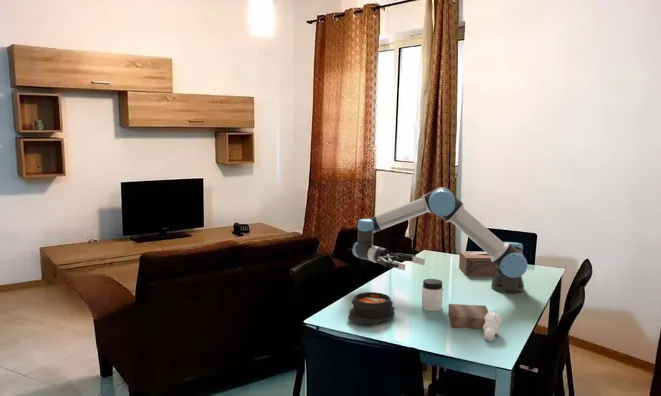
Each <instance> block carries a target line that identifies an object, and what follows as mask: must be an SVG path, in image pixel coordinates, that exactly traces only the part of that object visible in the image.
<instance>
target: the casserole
mask: <svg viewBox="0 0 661 396" xmlns="http://www.w3.org/2000/svg"><path fill="white" fill-rule="evenodd" d="M351 304H352V306H353V307H352V308H351V309H350V310H349V315H348V317H347V319H348V320H349V321H352V322H355V323H358V324H365V325H372V324H373V325H374V324H376V323H379V322H383V321H388V320H390V319H392V318H394V317H395V308H396V307H394V306H393V305H394V303H393V300H392V299H391V296H389V295H387V294H385V293H381V292H373V291H372V292H370V291H369V292H367V291H366V292H361V293H357V294H356V295H354V296H353V299H352V300H351Z"/></svg>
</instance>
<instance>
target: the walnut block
mask: <svg viewBox="0 0 661 396" xmlns="http://www.w3.org/2000/svg"><path fill="white" fill-rule="evenodd" d="M447 307H448V312H447V313H448V314H447V316H448V320H449V323H450V327H451V329H463V330H464V329H465V330H480V331H481V330H483V325H484V324H485V320H484V317H485V316H486V314H487V313H488V312H489V310H488V308H487V306H486V305H477V304H461V303H458V304H457V303H448V306H447ZM483 331H484V330H483Z"/></svg>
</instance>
